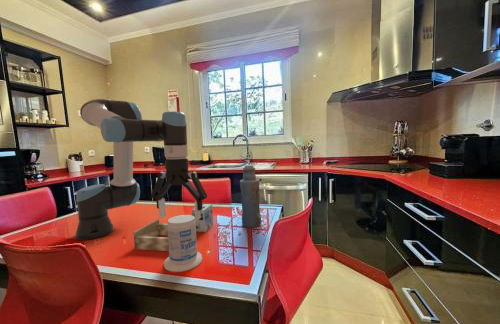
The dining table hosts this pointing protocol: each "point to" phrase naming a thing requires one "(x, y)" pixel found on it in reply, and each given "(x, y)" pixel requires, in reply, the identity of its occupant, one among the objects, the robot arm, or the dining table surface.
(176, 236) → the supplement tub
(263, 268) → the dining table surface
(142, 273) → the dining table surface
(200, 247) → the dining table surface
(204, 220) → the light bulb box
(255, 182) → the bottle
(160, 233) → the shelf bay
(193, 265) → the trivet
